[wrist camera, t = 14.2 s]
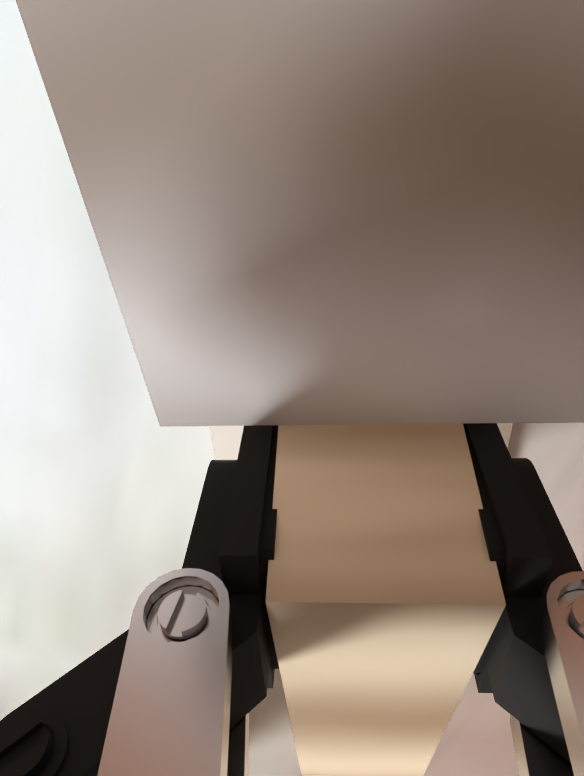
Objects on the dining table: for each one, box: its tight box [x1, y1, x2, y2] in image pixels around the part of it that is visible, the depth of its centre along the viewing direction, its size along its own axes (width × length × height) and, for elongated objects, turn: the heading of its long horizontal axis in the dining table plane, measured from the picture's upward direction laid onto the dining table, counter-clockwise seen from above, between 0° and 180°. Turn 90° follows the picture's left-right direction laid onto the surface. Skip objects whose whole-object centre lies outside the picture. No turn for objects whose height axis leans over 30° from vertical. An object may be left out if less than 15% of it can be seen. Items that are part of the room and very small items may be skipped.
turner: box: [16, 0, 584, 776], centre depth 9 cm, size 18×7×4 cm, turn 3°
